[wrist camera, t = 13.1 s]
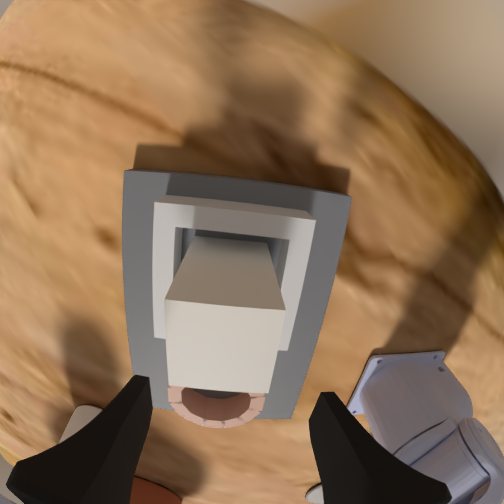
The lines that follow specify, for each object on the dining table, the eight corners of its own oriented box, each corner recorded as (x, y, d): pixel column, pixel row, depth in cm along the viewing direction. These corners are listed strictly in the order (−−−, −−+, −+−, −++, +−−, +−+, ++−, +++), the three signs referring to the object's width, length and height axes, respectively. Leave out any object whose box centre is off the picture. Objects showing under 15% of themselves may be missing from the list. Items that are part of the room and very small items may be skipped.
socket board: (344, 193, 19) (368, 204, 15) (288, 407, 25) (294, 439, 21) (132, 168, 18) (107, 174, 14) (141, 393, 24) (132, 424, 20)
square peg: (266, 242, 18) (286, 310, 11) (258, 305, 20) (268, 393, 12) (194, 235, 18) (164, 299, 10) (191, 299, 19) (168, 384, 12)
